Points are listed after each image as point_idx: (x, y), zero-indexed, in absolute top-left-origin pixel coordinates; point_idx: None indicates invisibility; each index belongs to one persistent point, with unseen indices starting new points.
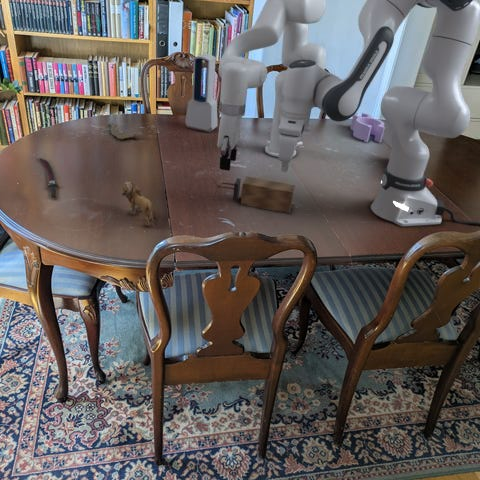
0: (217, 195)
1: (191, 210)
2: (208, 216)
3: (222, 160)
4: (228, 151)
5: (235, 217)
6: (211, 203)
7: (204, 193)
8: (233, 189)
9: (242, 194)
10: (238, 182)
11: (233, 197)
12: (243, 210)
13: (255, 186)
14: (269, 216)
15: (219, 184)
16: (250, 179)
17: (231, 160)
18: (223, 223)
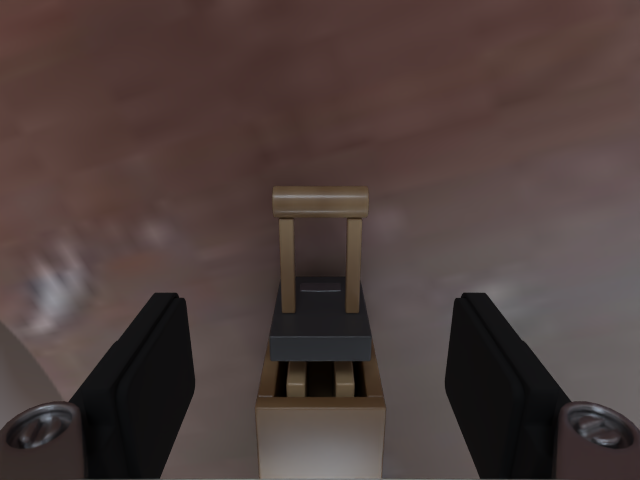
0: (329, 164)
1: (56, 58)
2: (49, 183)
3: (73, 403)
4: (489, 386)
5: (121, 318)
6: (208, 157)
7: (324, 71)
8: (281, 305)
9: (266, 356)
10: (298, 359)
11: (279, 285)
12: (214, 339)
13: (261, 476)
14: (214, 451)
15: (279, 210)
16: (343, 440)
17: (453, 351)
18: (27, 277)
